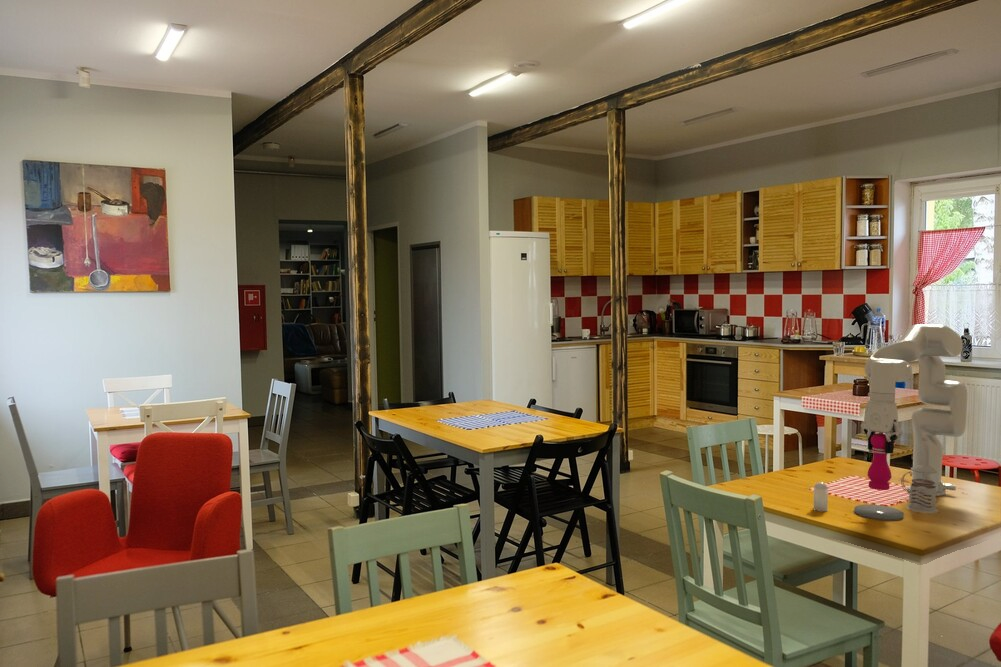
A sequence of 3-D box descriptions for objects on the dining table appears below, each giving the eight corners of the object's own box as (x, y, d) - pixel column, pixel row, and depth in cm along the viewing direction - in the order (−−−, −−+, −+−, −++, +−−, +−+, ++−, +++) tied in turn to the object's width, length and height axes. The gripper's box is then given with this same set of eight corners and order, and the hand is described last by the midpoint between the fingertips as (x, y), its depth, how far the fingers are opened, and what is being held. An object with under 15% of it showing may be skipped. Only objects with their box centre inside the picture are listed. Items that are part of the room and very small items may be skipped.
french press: (934, 514, 258) (937, 441, 256) (897, 508, 266) (899, 436, 264) (941, 509, 265) (944, 437, 264) (905, 502, 273) (907, 433, 272)
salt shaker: (827, 508, 264) (828, 481, 264) (827, 512, 260) (827, 484, 260) (813, 507, 266) (814, 480, 265) (813, 510, 262) (813, 482, 261)
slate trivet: (902, 511, 262) (902, 507, 262) (904, 522, 248) (905, 519, 248) (854, 505, 268) (854, 502, 268) (853, 516, 254) (854, 513, 254)
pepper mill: (893, 488, 258) (895, 428, 257) (887, 491, 252) (889, 431, 251) (871, 484, 262) (873, 426, 262) (863, 487, 257) (865, 428, 256)
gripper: (852, 395, 262) (850, 447, 263) (897, 401, 247) (895, 457, 247) (868, 394, 265) (866, 445, 266) (913, 400, 250) (911, 455, 251)
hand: (880, 450), depth 257 cm, fingers closed on pepper mill, 6 cm apart
